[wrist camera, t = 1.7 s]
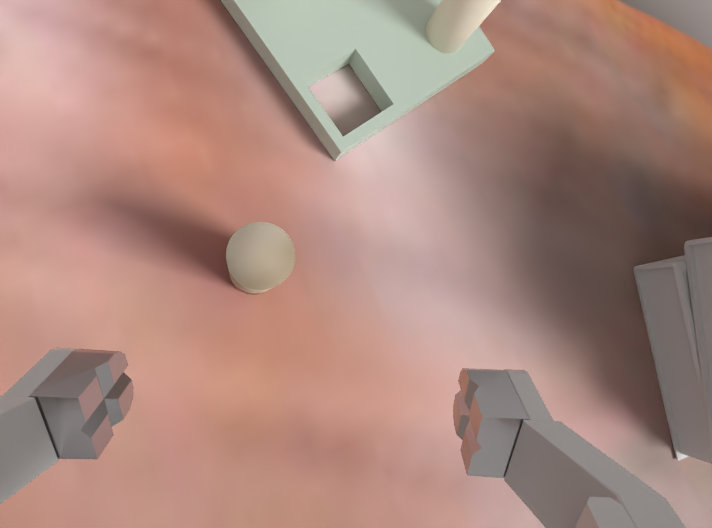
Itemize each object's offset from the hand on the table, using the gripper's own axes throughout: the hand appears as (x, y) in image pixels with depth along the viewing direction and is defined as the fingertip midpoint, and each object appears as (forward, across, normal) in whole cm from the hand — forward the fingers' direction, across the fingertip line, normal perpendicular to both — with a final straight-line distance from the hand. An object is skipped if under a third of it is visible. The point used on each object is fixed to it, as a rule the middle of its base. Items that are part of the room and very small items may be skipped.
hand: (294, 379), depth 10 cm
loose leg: (+24, +7, +10) cm, 27 cm away
